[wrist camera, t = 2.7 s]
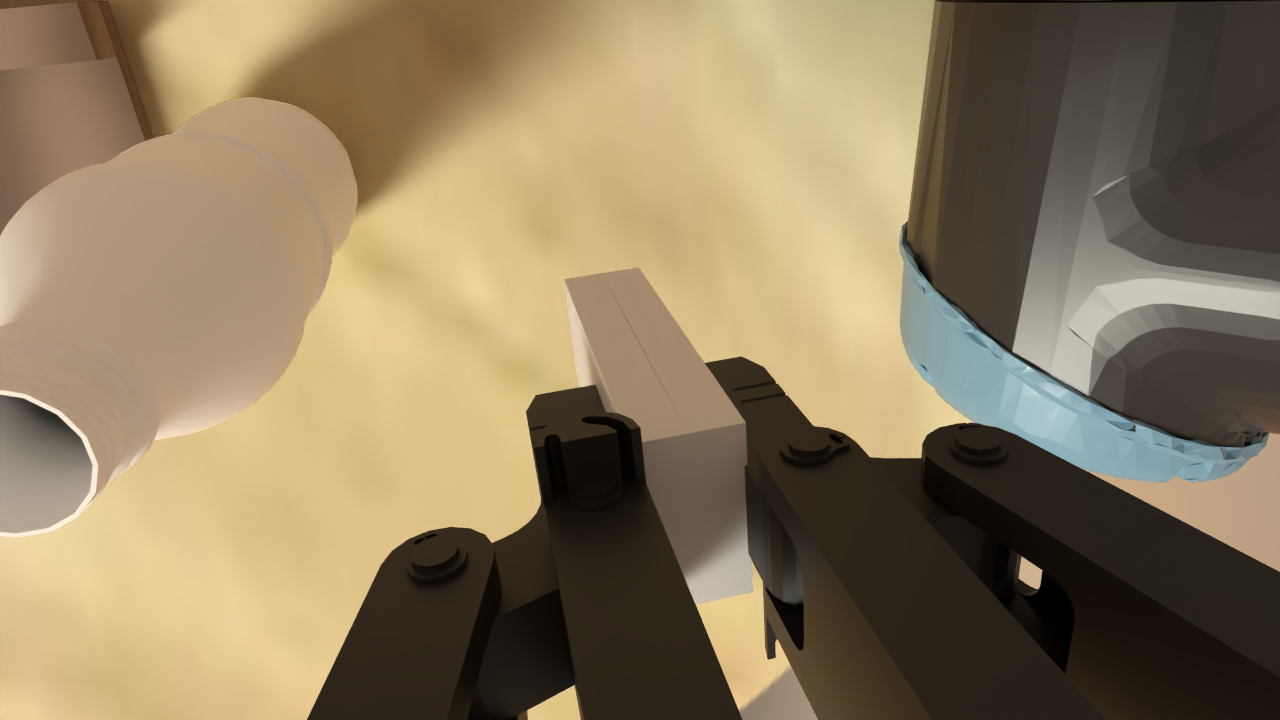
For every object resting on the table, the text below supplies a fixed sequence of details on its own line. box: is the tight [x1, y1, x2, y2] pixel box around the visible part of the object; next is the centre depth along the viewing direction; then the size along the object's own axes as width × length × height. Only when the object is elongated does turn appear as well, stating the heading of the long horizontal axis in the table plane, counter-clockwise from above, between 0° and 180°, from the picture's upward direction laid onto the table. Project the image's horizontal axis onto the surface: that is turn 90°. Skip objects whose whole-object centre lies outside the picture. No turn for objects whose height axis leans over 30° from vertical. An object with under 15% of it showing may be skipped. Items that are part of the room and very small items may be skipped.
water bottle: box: [0, 97, 358, 538], centre depth 25 cm, size 7×7×25 cm
